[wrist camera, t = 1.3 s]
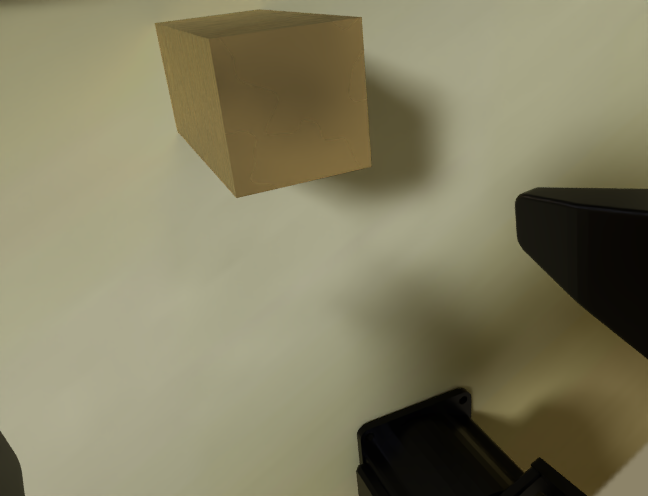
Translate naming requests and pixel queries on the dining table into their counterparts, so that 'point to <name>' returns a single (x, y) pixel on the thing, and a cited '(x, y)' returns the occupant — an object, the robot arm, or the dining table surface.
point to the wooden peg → (269, 95)
